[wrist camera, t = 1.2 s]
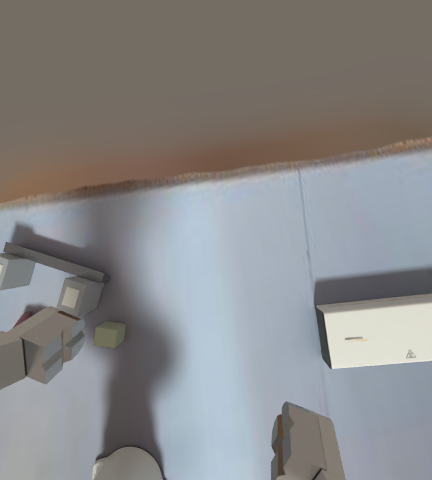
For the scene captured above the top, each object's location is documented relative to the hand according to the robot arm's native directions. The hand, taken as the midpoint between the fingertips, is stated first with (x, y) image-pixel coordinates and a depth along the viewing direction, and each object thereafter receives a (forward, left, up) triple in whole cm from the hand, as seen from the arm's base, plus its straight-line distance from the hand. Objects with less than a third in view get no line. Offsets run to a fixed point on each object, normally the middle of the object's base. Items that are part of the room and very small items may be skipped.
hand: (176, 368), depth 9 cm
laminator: (0, -38, -46) cm, 60 cm away
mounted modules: (-15, +40, -46) cm, 62 cm away
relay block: (-22, +22, -46) cm, 55 cm away
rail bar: (-11, +40, -46) cm, 62 cm away
